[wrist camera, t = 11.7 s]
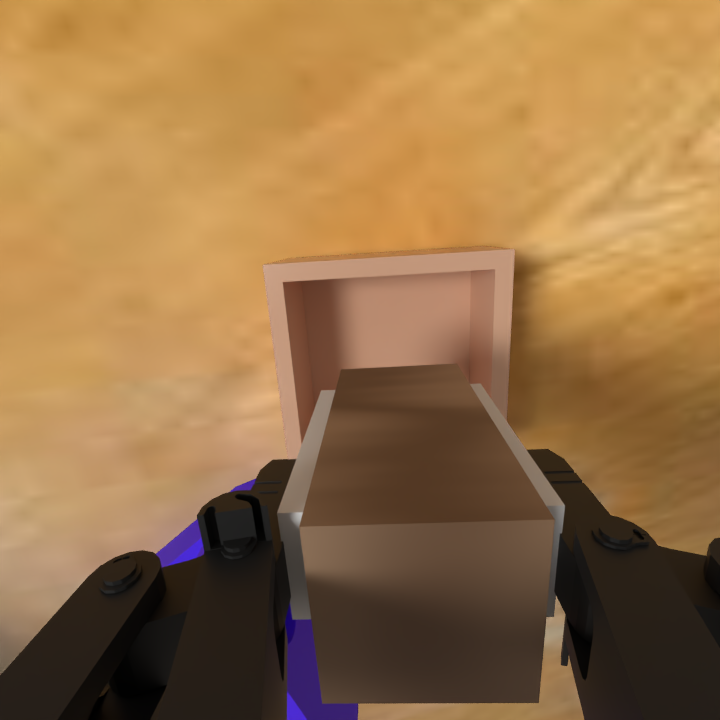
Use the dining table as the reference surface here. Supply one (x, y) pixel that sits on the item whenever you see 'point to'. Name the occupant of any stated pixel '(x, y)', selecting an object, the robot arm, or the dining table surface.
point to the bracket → (302, 672)
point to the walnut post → (423, 546)
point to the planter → (387, 320)
